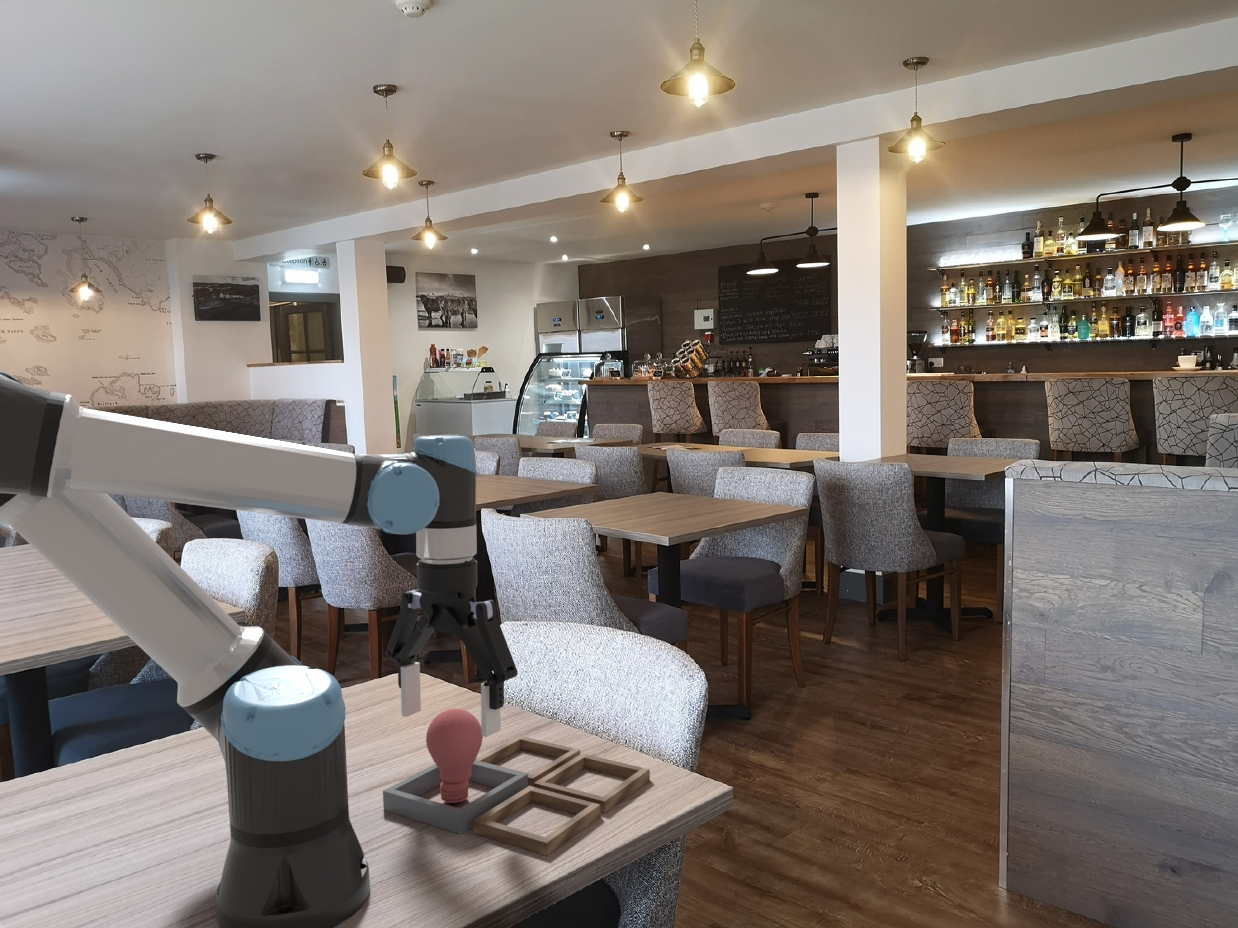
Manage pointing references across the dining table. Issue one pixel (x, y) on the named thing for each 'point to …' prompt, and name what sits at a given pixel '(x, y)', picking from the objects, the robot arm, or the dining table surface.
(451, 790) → the light bulb
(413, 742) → the dining table surface
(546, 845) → the frame
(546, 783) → the frame
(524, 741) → the frame
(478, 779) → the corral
